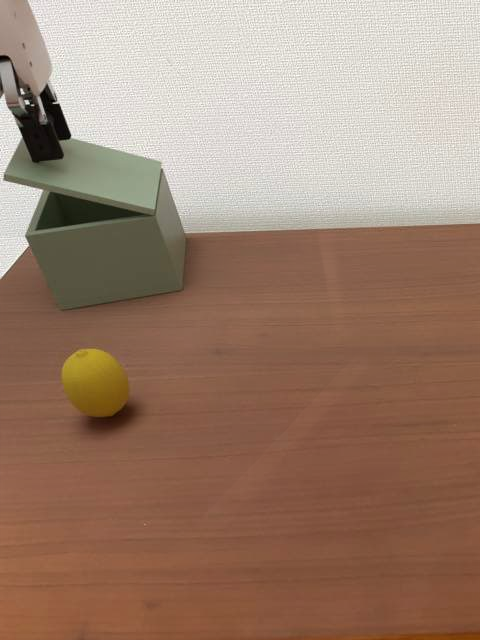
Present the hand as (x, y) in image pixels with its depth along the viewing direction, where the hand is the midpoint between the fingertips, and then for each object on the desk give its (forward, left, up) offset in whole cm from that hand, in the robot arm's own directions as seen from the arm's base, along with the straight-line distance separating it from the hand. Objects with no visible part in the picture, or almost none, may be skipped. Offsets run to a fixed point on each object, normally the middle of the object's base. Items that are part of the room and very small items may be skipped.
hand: (52, 148), depth 92 cm
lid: (+3, 0, -3) cm, 4 cm away
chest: (+2, 0, -17) cm, 17 cm away
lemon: (+3, -29, -17) cm, 34 cm away
